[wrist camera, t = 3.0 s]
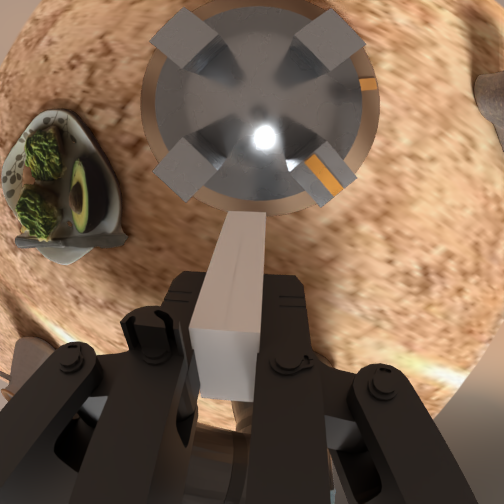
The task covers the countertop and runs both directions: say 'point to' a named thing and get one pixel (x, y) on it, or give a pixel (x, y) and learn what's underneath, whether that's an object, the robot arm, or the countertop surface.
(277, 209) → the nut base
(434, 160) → the countertop surface
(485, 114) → the pipe
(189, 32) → the four-tab metal disc
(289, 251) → the countertop surface
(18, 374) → the coffee pot
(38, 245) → the salad plate
